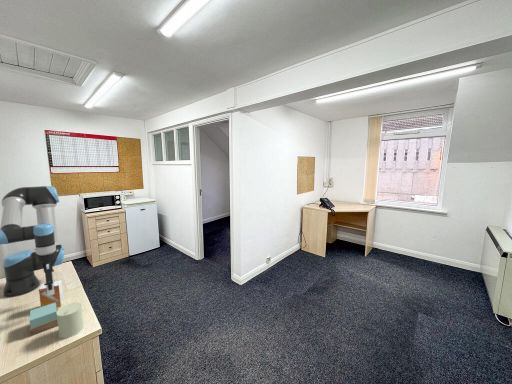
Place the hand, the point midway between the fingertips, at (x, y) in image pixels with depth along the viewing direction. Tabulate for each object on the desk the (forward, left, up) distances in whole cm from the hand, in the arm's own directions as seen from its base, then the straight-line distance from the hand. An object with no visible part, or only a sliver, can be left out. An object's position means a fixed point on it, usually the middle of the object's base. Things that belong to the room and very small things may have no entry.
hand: (50, 289), depth 115 cm
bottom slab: (+16, -3, -11) cm, 19 cm away
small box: (0, 0, -10) cm, 10 cm away
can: (+29, +6, -10) cm, 31 cm away
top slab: (+15, -3, -7) cm, 17 cm away
